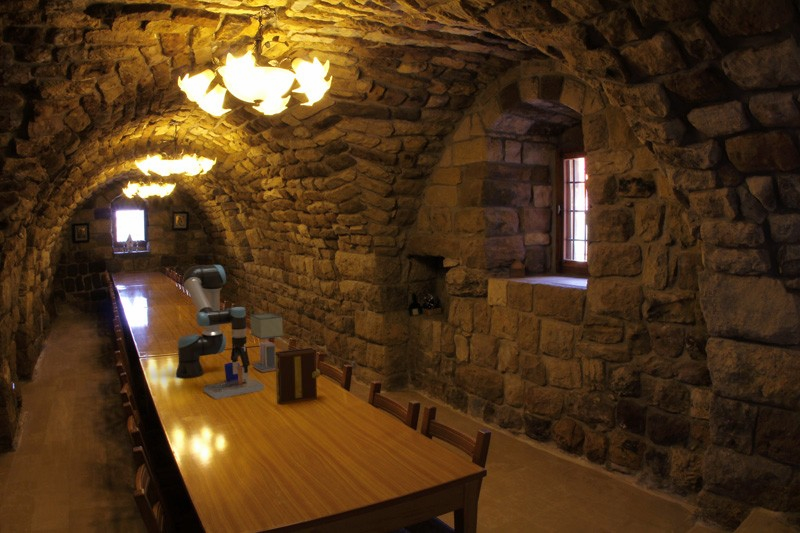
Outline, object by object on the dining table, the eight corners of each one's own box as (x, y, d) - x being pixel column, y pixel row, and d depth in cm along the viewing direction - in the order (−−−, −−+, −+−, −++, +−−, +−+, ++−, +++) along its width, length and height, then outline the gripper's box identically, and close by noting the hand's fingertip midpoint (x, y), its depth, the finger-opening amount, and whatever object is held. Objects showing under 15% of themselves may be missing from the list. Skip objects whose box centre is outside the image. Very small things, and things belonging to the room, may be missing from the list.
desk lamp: (251, 367, 366) (249, 314, 364) (273, 364, 374) (272, 312, 371) (261, 373, 351) (259, 318, 348) (284, 370, 358) (282, 316, 356)
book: (280, 405, 288) (278, 354, 286) (275, 401, 296) (273, 351, 294) (323, 398, 298) (321, 349, 297) (317, 394, 306) (316, 346, 304)
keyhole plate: (215, 399, 300) (215, 392, 300) (203, 392, 314) (203, 385, 313) (263, 389, 316) (263, 383, 316) (250, 383, 329) (250, 377, 329)
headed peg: (234, 389, 318) (233, 366, 317) (243, 387, 321) (242, 365, 320) (238, 391, 314) (237, 368, 313) (247, 389, 317) (246, 366, 316)
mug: (242, 384, 328) (241, 366, 327) (222, 383, 330) (221, 365, 330) (249, 380, 336) (248, 362, 335) (229, 379, 338) (228, 362, 338)
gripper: (223, 334, 322) (225, 372, 324) (241, 340, 303) (243, 382, 305) (236, 332, 327) (238, 370, 329) (255, 338, 308) (256, 379, 309)
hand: (240, 376), depth 317 cm, fingers open, 12 cm apart
